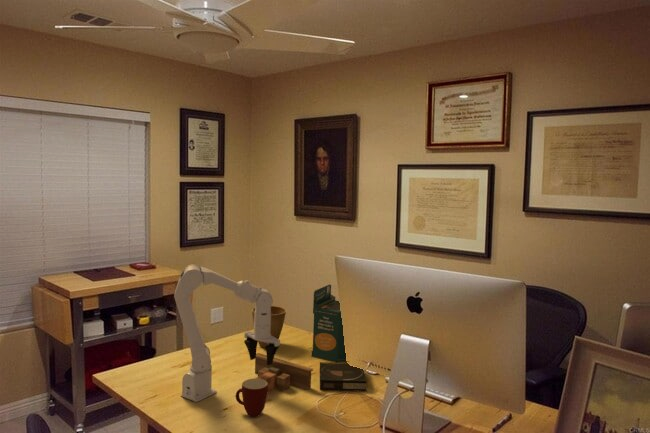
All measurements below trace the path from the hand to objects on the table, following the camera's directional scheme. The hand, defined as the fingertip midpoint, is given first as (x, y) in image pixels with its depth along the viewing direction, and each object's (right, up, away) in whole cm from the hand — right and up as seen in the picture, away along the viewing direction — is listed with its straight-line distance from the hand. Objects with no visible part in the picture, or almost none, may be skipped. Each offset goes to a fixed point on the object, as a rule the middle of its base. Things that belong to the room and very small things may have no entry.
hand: (261, 361), depth 172 cm
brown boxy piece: (+1, -10, 0) cm, 10 cm away
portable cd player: (+29, -11, +10) cm, 32 cm away
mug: (-1, -12, -17) cm, 21 cm away
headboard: (+5, -9, +6) cm, 12 cm away
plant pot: (-3, -6, +44) cm, 45 cm away
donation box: (+27, -8, +36) cm, 46 cm away
